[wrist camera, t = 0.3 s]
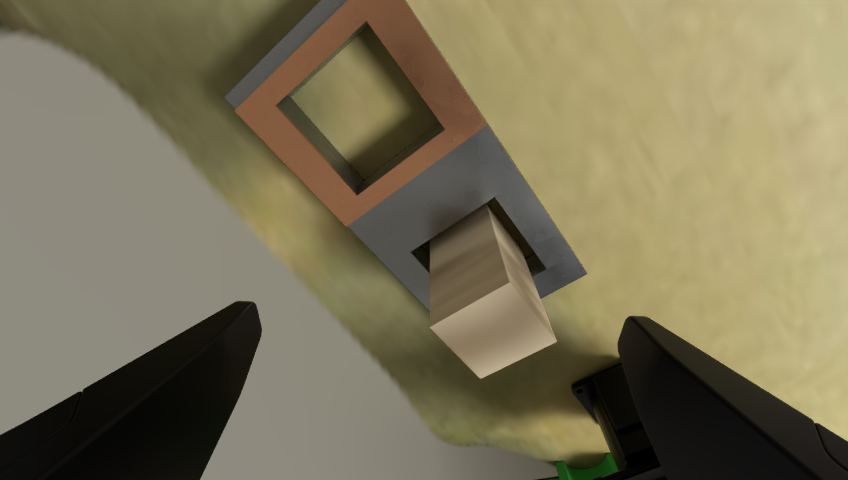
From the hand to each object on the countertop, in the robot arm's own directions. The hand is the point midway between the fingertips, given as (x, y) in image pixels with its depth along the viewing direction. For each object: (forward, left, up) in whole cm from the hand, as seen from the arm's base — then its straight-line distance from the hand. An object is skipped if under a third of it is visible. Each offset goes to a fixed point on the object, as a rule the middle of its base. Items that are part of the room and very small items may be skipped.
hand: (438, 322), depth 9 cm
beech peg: (-6, +1, -13) cm, 15 cm away
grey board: (-1, +1, -13) cm, 13 cm away
